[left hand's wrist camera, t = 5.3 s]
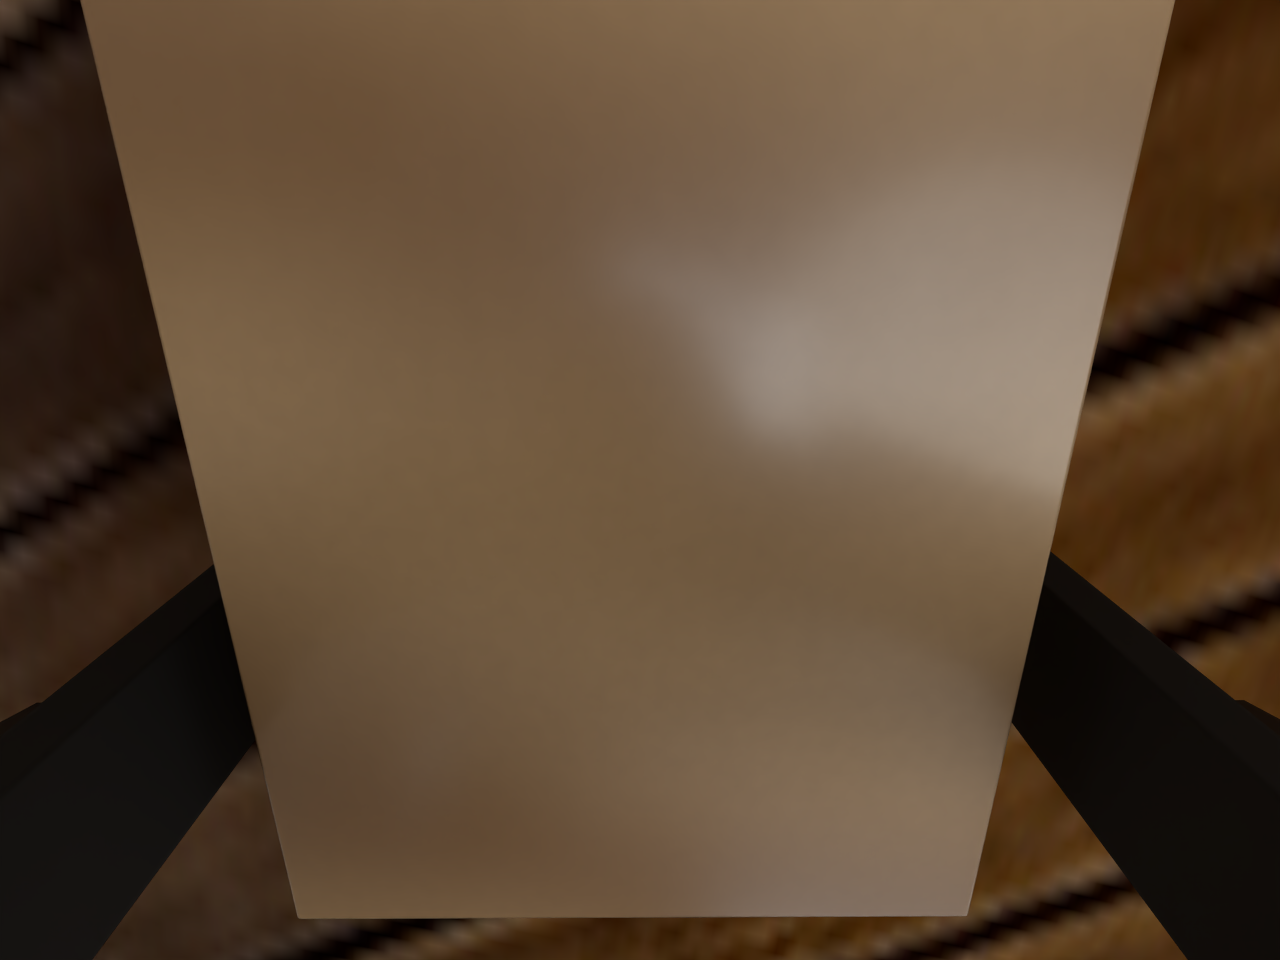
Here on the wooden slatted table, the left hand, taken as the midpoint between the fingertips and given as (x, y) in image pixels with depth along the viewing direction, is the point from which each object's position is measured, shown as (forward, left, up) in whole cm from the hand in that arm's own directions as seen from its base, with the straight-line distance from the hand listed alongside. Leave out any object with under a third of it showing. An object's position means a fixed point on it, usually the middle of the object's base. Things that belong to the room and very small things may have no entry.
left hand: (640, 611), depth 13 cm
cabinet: (+3, +7, -5) cm, 9 cm away
